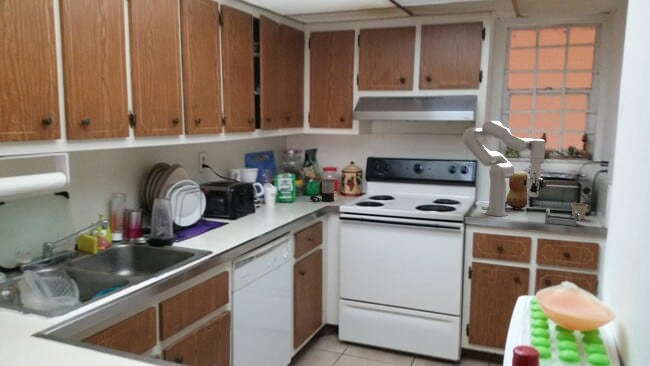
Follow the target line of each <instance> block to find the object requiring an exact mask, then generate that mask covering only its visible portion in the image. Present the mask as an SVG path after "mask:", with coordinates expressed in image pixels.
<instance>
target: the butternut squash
mask: <svg viewBox="0 0 650 366" xmlns="http://www.w3.org/2000/svg"><path fill="white" fill-rule="evenodd" d="M526 177H528V173H526V172H525V171H523V170H521V171H514V174H513V175H512V176H511V177H509V178H508V179H509V180H508V186H509V187H508V188H509V190H508V193H507V194H506V200H505V202H506V203H507V205H508V207H510V208H511V209H514V210H522V209H524V208H526V206H527V205H528V203H527V195H528V196H529V193H528V188H525V186H524V180H525V179H526Z"/></svg>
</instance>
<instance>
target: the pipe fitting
mask: <svg viewBox="0 0 650 366" xmlns="http://www.w3.org/2000/svg"><path fill="white" fill-rule="evenodd" d="M550 211H551V208H550V207H548V208H547V209H546V210H545V220H544V223H545V224H554V225H562V226H563V225H564V226H565V225H566V226H573V227H577V224H578V222H581V221H582V219H581V214H578V211H575V214H574V217H573V216H563V215H552V214H551V212H550Z"/></svg>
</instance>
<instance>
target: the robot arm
mask: <svg viewBox="0 0 650 366" xmlns="http://www.w3.org/2000/svg"><path fill="white" fill-rule="evenodd" d="M489 138H493V139H496V140H498V141H500V142H501V143H502V144H503V145H504V146H505V147H508V148H510V149H512V150H514V151H516V152H530V153H529V164H530V170H529V171H530V172H529V177H530V178H529V180H530V179H532V184H531V189H530V191H531V192H534V193H536V192H537V191H538V192H539V190H537V181H538V180H539V179H540V178H541V173H542V165H544V164H545V153H546V151H545V150H546V141H545V140H544V139H533V138H528V137H527V138H524V137H523V138H520V137H518V136H516V135H514V134H512V133H511V130H510V129H509V128H507V127H505V126H503V124H502V123H501V122H500V121H498V120H487V121H484V123H483V124H482V126H480V127H469V128H466V129H465V131H464V132H463V136H462V141H463V144H464V146H465V147H466V149H467V150H468V151H469V152H470V153H471V154H472V155H473V156H474V157H475V158H476V159H477V160H478V161H479V162H480V164H481V165H483V166H484V167H489V199H488V200H489V201H488V206H481V210H482V211H485V214H486V215H488V216H493V217H494V216H496V217H505V216H508V212H506V198H507V182H506V179H509V177H511V176H512V175H513V174H514V172H515V168H514V166H513V164H512V163H511V162H510V161H508V160H509V159H507V158H506V157H505V156H504V155H503V154H502V153H500V152H499V151H495V150H489V149H488V148H487V147H486V146H485V145H484V144H483V143H481V142H482V141H485V140H487V139H489ZM480 141H481V142H480ZM535 179H536V180H535Z"/></svg>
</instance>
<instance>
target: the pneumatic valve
mask: <svg viewBox="0 0 650 366" xmlns="http://www.w3.org/2000/svg"><path fill="white" fill-rule="evenodd" d="M529 178H530V176H529V177H526V179H525V180H524V186H525V188H527V189H529V192H528V197H530V198H538V197H539V196H540V193H539V191H542V190H545V189H546V187H547V181H546V179H545V178H541V177H540V179H539V180H538V181H537V190H538V191H537V192H536V193H534V192H531V184H532V179H530V180H529ZM535 180H536V179H535Z"/></svg>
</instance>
